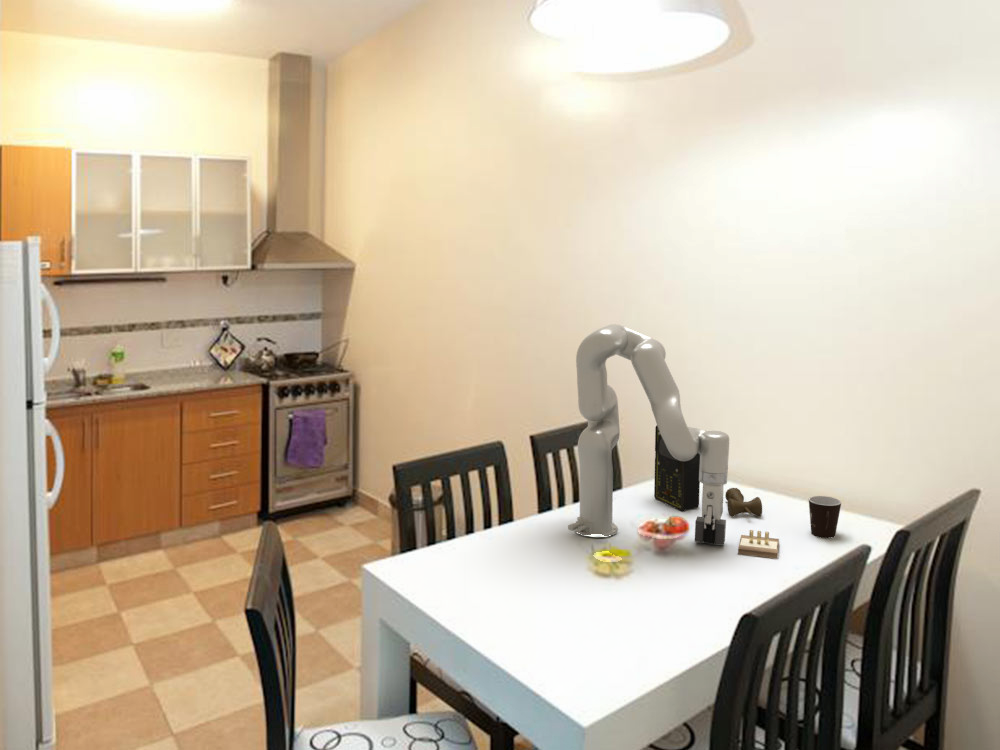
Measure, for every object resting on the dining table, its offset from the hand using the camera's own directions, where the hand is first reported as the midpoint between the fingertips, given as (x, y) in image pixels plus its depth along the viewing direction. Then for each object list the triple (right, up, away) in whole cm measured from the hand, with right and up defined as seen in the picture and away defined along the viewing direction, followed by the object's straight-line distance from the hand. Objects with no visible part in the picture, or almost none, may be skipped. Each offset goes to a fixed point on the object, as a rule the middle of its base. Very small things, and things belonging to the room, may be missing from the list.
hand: (709, 539), depth 221 cm
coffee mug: (+33, 0, +5) cm, 33 cm away
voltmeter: (-2, +4, +35) cm, 35 cm away
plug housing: (0, -1, 0) cm, 0 cm away
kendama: (+17, +3, +26) cm, 31 cm away
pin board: (+12, -2, -4) cm, 13 cm away
